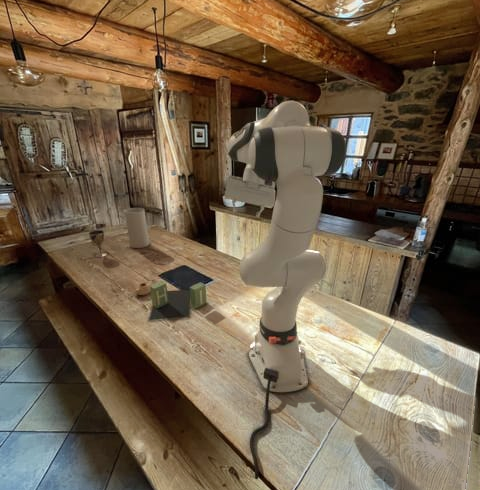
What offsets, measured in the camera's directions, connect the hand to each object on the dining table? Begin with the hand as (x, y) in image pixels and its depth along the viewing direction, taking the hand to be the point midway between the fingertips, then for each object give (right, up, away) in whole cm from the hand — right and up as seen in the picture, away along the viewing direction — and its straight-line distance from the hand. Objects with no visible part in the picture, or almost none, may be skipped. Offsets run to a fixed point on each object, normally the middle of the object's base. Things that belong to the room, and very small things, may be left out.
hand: (246, 214), depth 107 cm
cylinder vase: (-72, -10, +78) cm, 107 cm away
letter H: (-38, -38, +12) cm, 55 cm away
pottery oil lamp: (-48, -35, +22) cm, 63 cm away
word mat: (-33, -39, +13) cm, 53 cm away
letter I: (-21, -39, +13) cm, 46 cm away
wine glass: (-91, -16, +63) cm, 112 cm away
